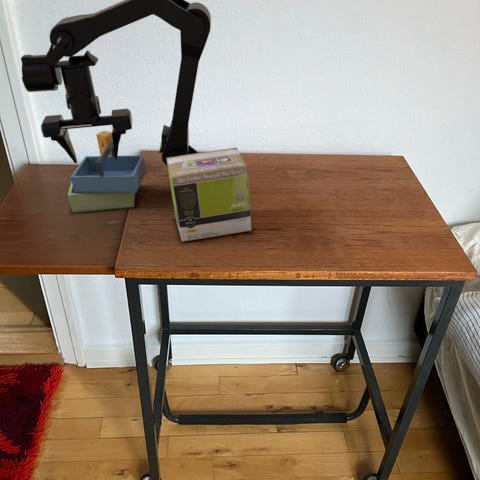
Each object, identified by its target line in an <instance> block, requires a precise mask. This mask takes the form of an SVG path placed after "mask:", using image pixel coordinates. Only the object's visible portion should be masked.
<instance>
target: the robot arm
mask: <svg viewBox="0 0 480 480" xmlns="http://www.w3.org/2000/svg"><path fill="white" fill-rule="evenodd" d="M153 15H154V16H155V17H158V18H159V19H160V20H162V21H164V22H165V23H166V24H168V25H169V26H171V27H172V28H175V29H177V30H178V31H180V32H179V33H180V64H179V65H180V66H179V71H178V78H177V83H176V91H175V98H174V104H173V110H172V111H173V112H172V118H171V122H170V124H169V126H168V125H166V124H164V125H162V126H163V127H162V131H161V141H160V144H159V150H158V154H161V160H162V163H163V164H164V165H165V166H166V167H167V158H168V157H176V156H182V155H189V154H195V153H200V152H199V151H198V150H197V149H195V148H194V147H193V146H191V145H190V129H189V128H190V127H189V123H190V118H191V117H190V116H191V111H192V105H193V99H194V94H195V87H196V81H197V75H198V70H199V64H200V63H199V62H200V59H201V58H202V54H203V52H204V50H205V47H206V44H207V41H208V38H209V36H210V33H211V27H212V26H211V25H212V15H211V12H210V11H209V9H208V7H207V6H206V5H205V4H203V3H202V2H201V3H200V2H197V1H195V2H191V3H190V2H189V1H188V0H122V1H119V2H117V3H115V4H112V5H110V6H107V7H105V8H103V9H100V10H98V11H96V12H92V13H87V14H77V15H72V16H68V17H67V16H66V17H64V18H61V19H60V20H59V21H57V23H56V24H54V26H52V28H51V29H50V33H49V43H50V46H49V48H48V51H46V54H35V55H33V54H23V55H22V56H21V57H20V62H21V75H22V77H21V81H22V83H23V87H24V88H25V90H26V91H27V92H28V93H36V92H37V93H38V92H39V93H40V92H53V91H56V92H57V91H58V89H59V86H61V85H62V84H63V85H64V89H65V102H66V107H67V109H68V110H70V114H71V118H69V119H65V118H64V117H63V115H62V114H56V115H55V114H51V115H45V117H43V120H42V121H41V125H40V130H41V133H42V137H43V138H46V139H47V138H50V141H52V142H56V143H57V144H58V145H59V146H60V147H61V148H62V149H63V150H64V151H65V152H66V154H67V155H68V156H69V158H70V159H71V160H72V162H73V163H74V164H78V158H77V154H76V151H75V148H74V147H73V144H72V140H71V138H70V133H69V130H72V129H73V130H74V129H83V128H93V127H105V126H111V127H112V131H111V132H112V138H113V149H114V156H115V160H117V156H119V146H120V141H121V137H122V135H126V134H127V131H130V130H132V129H133V116H132V111H131V110H130V109H129V108H119V109H112V110H111V115H101V114H102V110H101V104H100V98H99V96H98V95H96V92H95V87H94V82H93V78H92V73H91V68H90V67H95V66H96V65H97V63H98V62H99V58H98V57H97V56H95V55H94V54H93V53H91V51H89V50H88V49H87V50H86V51H85V53H84V54H83V55H81V54H80V55H76V54H78V53H80V52H81V51H83V50H84V49H86V47H88V46H89V45H91V44H92V43H93V42H95V41H96V40H97V39H99V38H101V37H102V36H104V35H107V34H109V33H111V32H114V31H116V30H120V29H121V28H124V27H126V26H128V25H130V24H133V23H135V22H138V21H141V20H143V19H145V18H148V17H150V16H153ZM63 58H68V60H62V59H63Z"/></svg>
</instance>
